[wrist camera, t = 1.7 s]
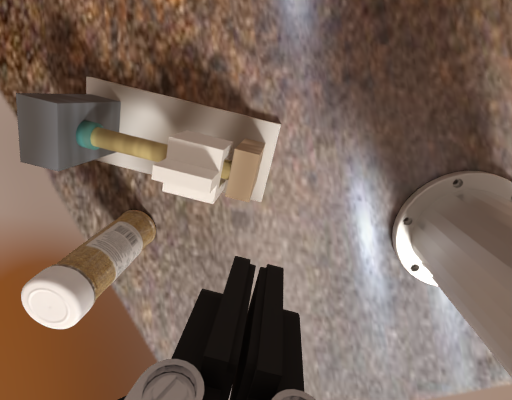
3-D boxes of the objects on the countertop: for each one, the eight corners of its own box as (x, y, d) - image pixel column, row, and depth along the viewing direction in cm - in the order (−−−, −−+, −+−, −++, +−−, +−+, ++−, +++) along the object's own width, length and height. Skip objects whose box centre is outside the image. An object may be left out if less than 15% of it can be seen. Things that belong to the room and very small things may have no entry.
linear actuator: (281, 124, 28) (278, 136, 19) (261, 199, 30) (252, 239, 22) (91, 77, 28) (7, 68, 20) (90, 156, 31) (15, 178, 22)
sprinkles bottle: (112, 217, 33) (4, 292, 20) (143, 202, 32) (50, 271, 19) (134, 249, 34) (45, 339, 22) (165, 236, 33) (90, 321, 21)
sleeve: (233, 141, 24) (216, 156, 18) (224, 188, 25) (205, 215, 20) (187, 130, 24) (155, 141, 18) (180, 177, 25) (149, 201, 20)
